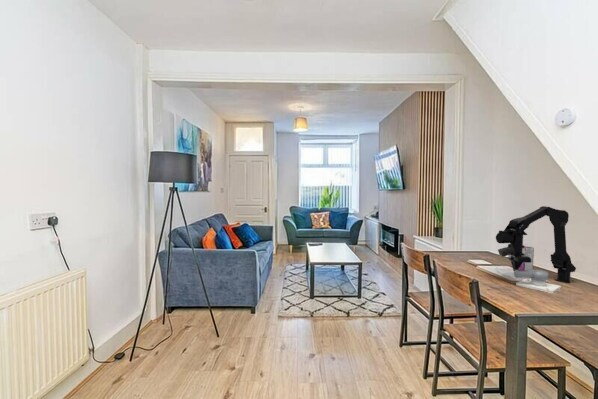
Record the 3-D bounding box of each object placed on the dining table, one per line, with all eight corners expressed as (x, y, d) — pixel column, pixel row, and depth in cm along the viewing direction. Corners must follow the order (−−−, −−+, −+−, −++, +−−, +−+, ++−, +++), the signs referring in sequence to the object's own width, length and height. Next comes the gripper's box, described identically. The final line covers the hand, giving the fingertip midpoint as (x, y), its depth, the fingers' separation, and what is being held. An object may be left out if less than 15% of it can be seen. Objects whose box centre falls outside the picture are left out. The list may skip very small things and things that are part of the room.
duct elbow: (542, 276, 177) (542, 269, 177) (551, 280, 169) (552, 273, 169) (512, 275, 179) (512, 267, 179) (520, 279, 171) (520, 271, 171)
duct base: (525, 280, 184) (525, 273, 184) (560, 288, 172) (561, 280, 172) (516, 285, 176) (516, 277, 176) (552, 293, 164) (553, 285, 163)
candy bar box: (515, 269, 208) (516, 243, 208) (524, 269, 207) (525, 243, 207) (523, 274, 198) (525, 246, 197) (533, 274, 196) (534, 247, 196)
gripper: (492, 239, 190) (491, 266, 191) (509, 245, 172) (507, 275, 172) (513, 240, 189) (512, 267, 190) (532, 246, 170) (530, 276, 171)
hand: (515, 271), depth 181 cm, fingers closed
